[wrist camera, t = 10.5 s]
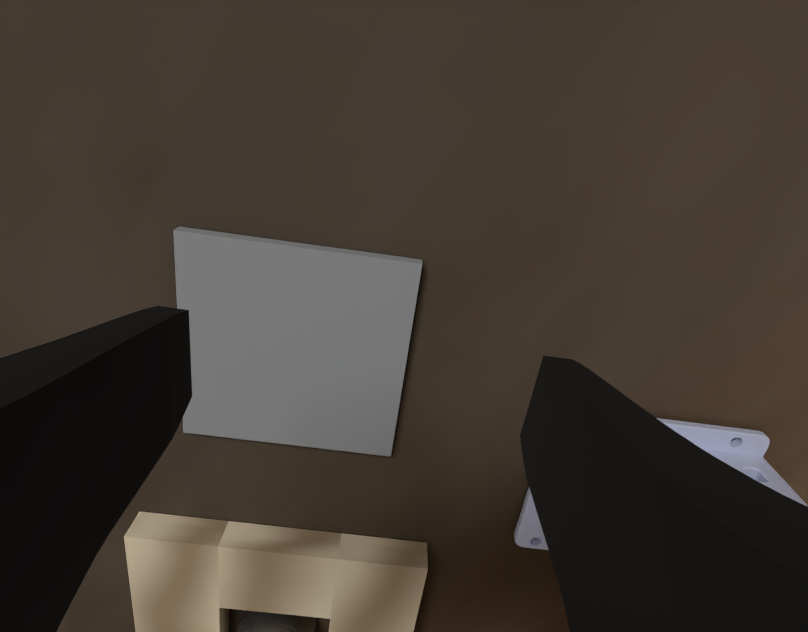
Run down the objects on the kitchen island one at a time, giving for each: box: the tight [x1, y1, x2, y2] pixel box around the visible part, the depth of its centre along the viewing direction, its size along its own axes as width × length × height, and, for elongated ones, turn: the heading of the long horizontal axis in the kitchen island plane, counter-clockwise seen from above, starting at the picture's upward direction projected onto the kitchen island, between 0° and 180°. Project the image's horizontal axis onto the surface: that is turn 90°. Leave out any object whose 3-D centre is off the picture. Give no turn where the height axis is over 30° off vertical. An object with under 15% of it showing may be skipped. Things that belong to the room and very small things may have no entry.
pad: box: [173, 227, 422, 457], centre depth 21 cm, size 9×9×1 cm
